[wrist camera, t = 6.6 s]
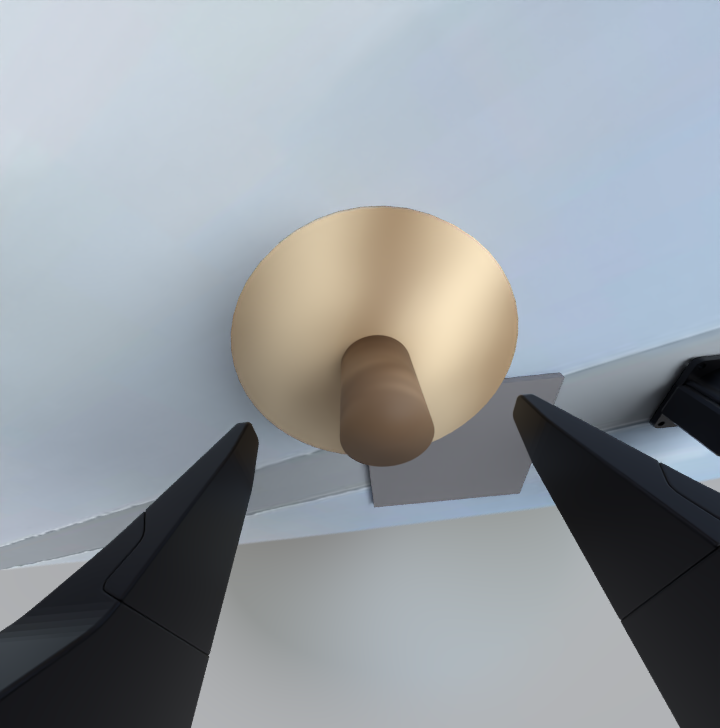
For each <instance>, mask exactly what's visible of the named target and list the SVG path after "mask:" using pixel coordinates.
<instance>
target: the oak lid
mask: <svg viewBox="0 0 720 728" xmlns="http://www.w3.org/2000/svg"><path fill="white" fill-rule="evenodd" d="M517 336H518V315H517V308H516V301H515V298H514V295H513V292H512V289H511V286H510V283H509V281H508V279H507V278H506V276H505V274H504V272H503V270H502V268H501V267H500V265H499V264H498V263H497V261H496V260H495V259H494V258H493V256H492V255H491V254H490V252H489V251H488V250H487V249H485V248H484V247H483V246H482V245H481V244H480V243H479V242H478V241H477V240H476V239H475V238H473V237H472V236H470V235H469V234H467V233H466V232H464V231H462V230H461V229H459V228H458V227H456V226H454V225H452V224H450V223H448V222H446V221H444V220H442V219H439V218H437V217H435V216H432V215H430V214H427V213H424V212H420V211H416V210H412V209H408V208H401V207H391V206H369V207H358V208H353V209H348V210H343V211H338V212H335V213H332V214H330V215H327V216H324V217H321V218H318V219H316V220H314V221H312V222H310V223H308V224H307V225H305V226H303V227H301V228H299V229H297V230H296V231H294V232H293V233H292V234H290V235H289V236H288V237H286V238H285V239H284V240H282V241H281V242H280V243H279V244H278V245H277V246H276V247H275V248H274V249H273V250H272V251H271V252H270V253H269V254H268V255H267V256H266V257H265V258H264V259H263V260H262V261H261V262H260V263H259V265H258V266H257V268H256V269H255V270H254V272H253V273H252V275H251V276H250V277H249V279H248V280H247V282H246V284H245V286H244V288H243V290H242V292H241V294H240V296H239V298H238V302H237V305H236V308H235V312H234V315H233V321H232V328H231V351H232V356H233V362H234V367H235V369H236V372H237V375H238V378H239V381H240V383H241V385H242V387H243V389H244V391H245V392H246V394H247V396H248V397H249V399H250V400H251V401H252V403H253V404H254V406H255V407H256V408H257V409H258V410H259V411H260V412H261V413H262V414H263V416H264V417H265V418H267V419H268V420H269V421H270V422H271V423H272V424H274V425H275V426H276V427H277V428H279V429H280V430H282V431H283V432H285V433H286V434H288V435H290V436H291V437H293V438H295V439H297V440H299V441H301V442H303V443H306V444H308V445H311V446H313V447H316V448H320V449H323V450H326V451H331V452H336V453H341V454H347V455H348V456H349V457H351V458H352V459H354V460H356V461H357V462H360V463H362V464H366V465H370V466H377V467H388V466H395V465H400V464H403V463H406V462H409V461H411V460H413V459H415V458H416V457H418V456H420V455H421V454H422V453H423V452H424V451H425V450H426V449H427V448H428V447H429V446H430V444H431V442H433V441H436V440H438V439H440V438H442V437H444V436H446V435H447V434H449V433H451V432H453V431H454V430H456V429H457V428H459V427H460V426H462V425H463V424H465V423H466V422H467V421H468V420H470V419H471V418H472V417H473V416H475V415H476V414H477V413H478V412H479V411H480V410H481V409H482V408H483V407H484V406H485V405H486V404H487V403H488V401H489V400H490V399H491V398H492V396H493V395H494V394H495V393H496V391H497V389H498V388H499V386H500V385H501V383H502V382H503V380H504V378H505V376H506V374H507V372H508V369H509V367H510V365H511V362H512V359H513V356H514V352H515V348H516V342H517Z"/></svg>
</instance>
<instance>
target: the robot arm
mask: <svg viewBox="0 0 720 728" xmlns="http://www.w3.org/2000/svg"><path fill="white" fill-rule="evenodd" d="M513 419H514V422H515V424H516V426H517V429H518V431H519V434H520V436H521V438H522V441H523V443H524V445H525V448H526V450H527V452H528V455H529V457H530V459H531V461H532V463H533V465H534V467H535V469H536V470H537V472H538V474H539V476H540V478H541V479H542V481H543V483H544V485H545V487H546V488H547V490H548V492H549V494H550V495H551V497H552V499H553V501H554V503H555V504H556V506H557V508H558V510H559V511H560V513H561V515H562V517H563V519H564V520H565V522H566V524H567V526H568V528H569V529H570V531H571V533H572V535H573V536H574V538H575V540H576V542H577V544H578V546H579V547H580V549H581V551H582V553H583V554H584V556H585V558H586V560H587V561H588V563H589V565H590V567H591V569H592V570H593V572H594V574H595V576H596V578H597V580H598V581H599V583H600V585H601V587H602V588H603V590H604V592H605V594H606V596H607V597H608V599H609V601H610V603H611V605H612V606H613V608H614V610H615V612H616V613H617V615H618V617H619V619H620V620H621V623H622V624H623V626H624V628H625V630H626V632H627V634H628V635H629V637H630V639H631V641H632V643H633V644H634V646H635V648H636V649H637V651H638V653H639V655H640V657H641V658H642V660H643V662H644V664H645V666H646V668H647V669H648V671H649V673H650V675H651V676H652V678H653V680H654V682H655V683H656V685H657V687H658V689H659V691H660V692H661V694H662V696H663V698H664V700H665V702H666V703H667V705H668V707H669V709H670V710H671V712H672V714H673V716H674V717H675V719H676V721H677V723H678V725H679V726H680V728H720V493H719V492H717V491H715V490H713V489H711V488H709V487H707V486H705V485H703V484H701V483H699V482H697V481H695V480H693V479H691V478H689V477H688V476H686V475H684V474H682V473H680V472H678V471H676V470H674V469H672V468H670V467H669V466H667V465H665V464H663V463H659V462H658V461H657V460H655V459H653V458H652V457H650V456H648V455H646V454H644V453H642V452H640V451H638V450H637V449H635V448H633V447H631V446H629V445H627V444H625V443H624V442H622V441H620V440H618V439H616V438H614V437H612V436H610V435H609V434H607V433H605V432H603V431H601V430H599V429H597V428H595V427H594V426H592V425H590V424H588V423H586V422H584V421H582V420H580V419H579V418H577V417H575V416H573V415H571V414H569V413H567V412H566V411H564V410H562V409H560V408H558V407H556V406H554V405H552V404H551V403H549V402H547V401H545V400H543V399H541V398H539V397H537V396H536V395H534V394H521V395H519V396H518V397H517V399H516V403H515V406H514V410H513ZM650 424H651V425H652V426H654V427H655V428H665V427H675V426H679V427H680V428H681V429H682V430H684V431H685V432H686V433H688V434H689V435H690V436H692V437H693V438H694V439H696V440H697V441H698V442H699V443H701V444H702V445H703V446H705V447H706V448H707V449H709V450H710V451H711V452H713V453H714V454H715V455H717V456H720V355H717V356H708V357H699V358H696V359H694V360H692V361H691V362H690V363H689V364H688V366H687V367H686V369H685V370H684V372H683V373H682V374H681V376H680V377H679V379H678V380H677V382H676V383H675V385H674V386H673V388H672V389H671V391H670V392H669V394H668V395H667V397H666V398H665V400H664V401H663V403H662V404H661V406H660V407H659V409H658V410H657V412H656V413H655V415H654V416H653V418H652V419H651V421H650ZM258 445H259V442H258V437H257V435H256V433H255V431H254V428H253V426H252V424H251V423H250V422H245V423H238V424H236V425H235V426H234V427H233V428H232V429H231V430H230V431H229V432H228V433H227V434H226V435H225V436H223V437H222V438H221V439H220V440H219V441H218V442H217V443H216V444H215V445H214V446H213V447H212V448H211V449H210V450H209V451H208V452H206V453H205V454H204V455H203V456H202V457H201V458H200V459H199V460H198V461H197V462H196V463H195V464H194V465H193V466H192V467H191V468H190V469H188V470H187V471H186V472H185V473H184V474H183V475H182V476H181V477H180V478H179V479H178V480H177V481H176V482H175V483H174V484H173V485H171V486H170V487H169V488H168V489H167V490H166V491H165V492H164V493H163V494H162V495H161V496H160V497H159V498H158V499H157V500H156V501H155V502H153V503H152V504H151V505H150V506H149V507H148V508H147V509H146V511H145V512H143V513H142V514H141V515H140V516H138V517H137V518H136V519H135V520H134V521H133V522H132V523H131V524H130V525H129V526H128V527H127V528H126V529H124V530H123V531H122V532H121V533H120V534H119V535H118V536H117V537H116V538H115V539H114V540H112V541H111V542H110V543H109V544H108V545H107V546H106V547H104V548H103V549H102V550H101V551H100V552H99V553H97V554H96V555H95V556H94V557H93V558H92V559H90V560H89V561H88V562H87V563H86V564H85V565H83V566H82V567H81V568H80V569H79V570H77V571H76V572H75V573H74V574H73V575H72V576H70V577H69V578H68V579H67V580H66V581H64V582H63V583H62V584H61V585H60V586H58V588H56V589H55V590H54V591H53V592H51V593H50V594H49V595H48V596H47V597H45V598H44V599H43V600H42V601H41V602H40V603H38V604H37V605H36V606H35V607H33V608H32V609H31V610H30V611H28V612H27V613H26V614H25V615H23V616H22V617H21V618H20V619H18V620H17V621H16V622H14V623H13V624H11V625H10V626H8V627H7V628H5V629H4V630H2V631H1V632H0V728H191V725H192V721H193V717H194V713H195V709H196V706H197V701H198V698H199V694H200V690H201V686H202V682H203V678H204V675H205V671H206V667H207V663H208V659H209V656H208V655H209V654H210V651H211V647H212V643H213V639H214V635H215V631H216V627H217V623H218V619H219V615H220V612H221V608H222V604H223V600H224V596H225V592H226V588H227V584H228V580H229V577H230V573H231V569H232V565H233V561H234V557H235V553H236V549H237V546H238V542H239V538H240V534H241V530H242V526H243V522H244V518H245V515H246V511H247V507H248V503H249V499H250V495H251V491H252V486H253V480H254V473H255V466H256V459H257V452H258Z"/></svg>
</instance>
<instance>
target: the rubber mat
mask: <svg viewBox="0 0 720 728" xmlns="http://www.w3.org/2000/svg"><path fill="white" fill-rule="evenodd" d="M563 380H564V376H563V375H562V374H561V373H553V374H543V375H534V376H524V377H514V378H505V379H504V380H503V382H502V383H501V385H500V386H499V388H498V389H497V391H496V393H495V394H494V395H493V396H492V398H491V399H490V400H489V401H488V403H487V404H486V405H485V406H484V407H483V408H482V409H481V410H480V411H479V412H478V413H477V414H476V415H475V416H473V417H472V418H471V419H470V420H468V421H467V422H466V423H465V424H463V425H462V426H460V427H459V428H457V429H456V430H454V431H453V432H451V433H449V434H447V435H446V436H444V437H442V438H440V439H438V440H436V441H433V442H431V444H430V446H429V447H428V448H427V449H426V450H425V451H424V452H423V453H422V454H421V455H420V456H418V457H416V458H415V459H413V460H411V461H409V462H406V463H403V464H400V465H395V466H388V467H377V466H370V465H369V470H370V478H371V486H372V494H373V501H374V507H383V506H393V505H403V504H414V503H424V502H435V501H445V500H455V499H466V498H476V497H487V496H497V495H507V494H518V493H520V491H521V488H522V486H523V483H524V481H525V478H526V475H527V473H528V470H529V468H530V465H531V463H532V461H531V459H530V457H529V455H528V452H527V450H526V448H525V445H524V443H523V441H522V438H521V436H520V434H519V431H518V429H517V426H516V424H515V422H514V419H513V410H514V406H515V403H516V399H517V397H518V396H519V395H521V394H534V395H536V396H537V397H539V398H541V399H543V400H545V401H547V402H549V403H551V404H552V405H554V403H555V400H556V398H557V395H558V393H559V390H560V387H561V385H562V382H563Z"/></svg>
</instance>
